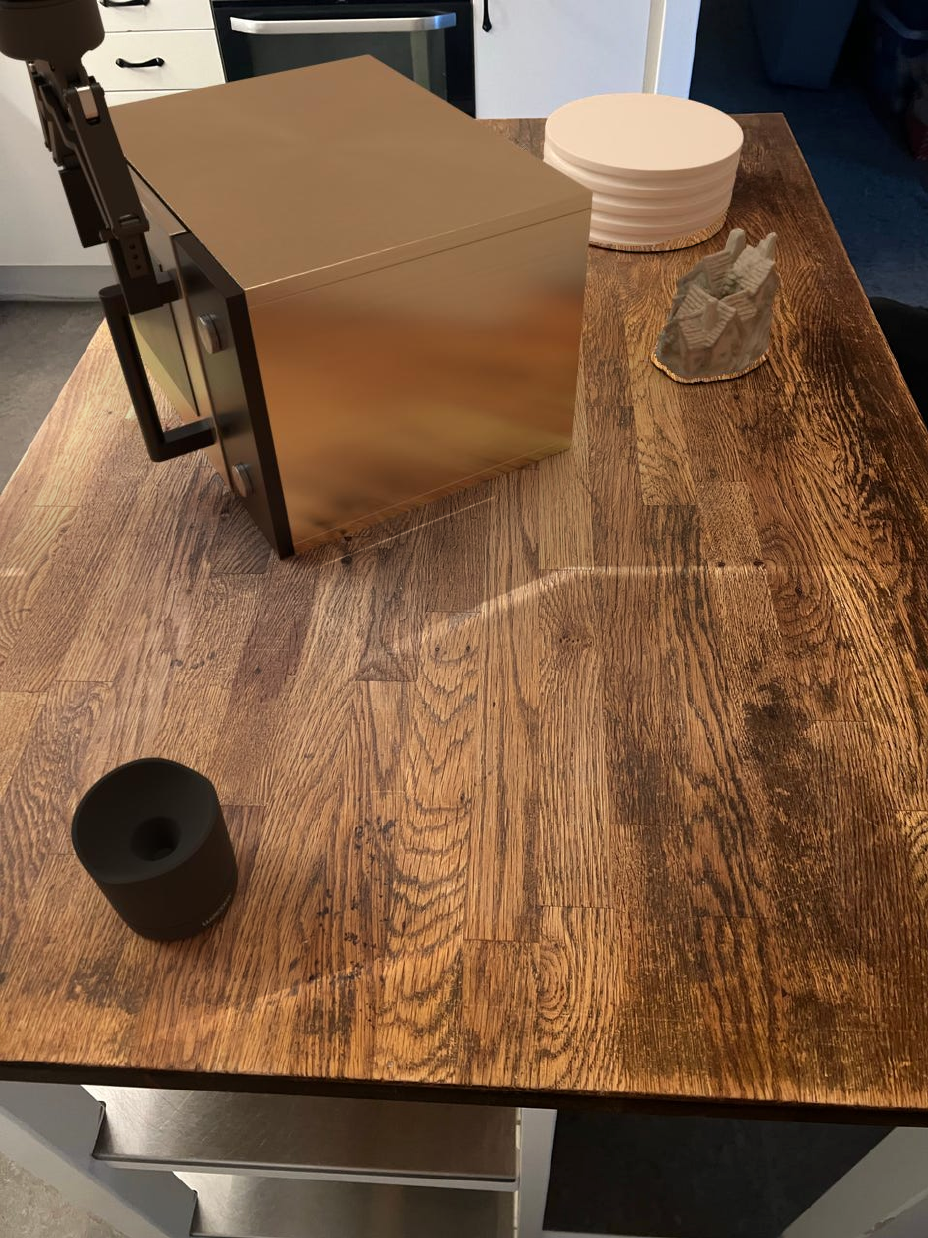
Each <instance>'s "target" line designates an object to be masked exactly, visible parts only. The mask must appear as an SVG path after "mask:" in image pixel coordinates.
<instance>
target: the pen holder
mask: <svg viewBox="0 0 928 1238" xmlns="http://www.w3.org/2000/svg"><path fill="white" fill-rule="evenodd" d="M221 806H222V805H221V802H220V800H219V796H218V793H217V790H216V787H215V786H214V784H213V782H212V781H211V779H209V778H208V777H207V776H205V775H204V774H202V773H200V772H199V771H197V770H195V769H193V768H191V767H189V766H187V765H185V764H183V763H180V762H178V761H175V760H172V759H169V758H164V757H157V756H152V757H151V756H150V757H142V758H138V759H133V760H130V761H128V762H125V763H123V764H121V765H119V766H117V767H115V768H113V769H111V770H110V771H108V772H106V774H104V775H103V776H102V777H100V778H99V779H98V780H97V781H96V782H94V783H93V784H92V786H90V788H89V789H88V790H87V791H86V792H85V794H84V795H83V796H82V798H81V799H80V801H79V803H78V805H77V807H76V808H75V812H74V814H73V816H72V821H71V828H70V836H71V843H72V848H73V850H74V852H75V854H76V857H77V858H78V860H79V862H80V863H81V865H82V866H83V868H84V870H85V871H86V873H88V875H89V876H90V878H91V879H92V881H93V882H94V884H95V885H96V886H97V887H98V889H99V890H100V892H101V893H102V894H103V896H104V897H105V899H106V900H107V901H108V902H109V903H108V904H110V905H111V907H112V908H113V910H114V911H115V912H116V914H118V917H120V919H121V920H122V921H123V923H124V924H125V925H126V926H127V927H128V928H129V929H130V930H131V931H133V932H134V933H135V934H136V935H138V936H140V937H141V938H144V939H146V940H150V941H153V942H160V943H161V942H162V943H170V942H179V941H183V940H186V939H189V938H192V937H195V936H197V935H199V934H201V933H203V932H205V931H206V930H208V929H209V928H210V927H212V926H214V924H215V923H216V922H217V921H219V920H220V919H221V917H222V916H223V915H224V914H225V913H226V912H227V910H228V908H229V907H230V905H231V903H232V902H233V899H234V897H235V895H236V892H237V888H238V884H239V883H238V881H239V870H238V864H237V859H236V855H235V852H234V847H233V844H232V841H231V837H230V834H229V830H228V827H227V823H226V820H225V817H224V813H223V809H222V807H221Z"/></svg>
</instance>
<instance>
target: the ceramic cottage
mask: <svg viewBox="0 0 928 1238" xmlns="http://www.w3.org/2000/svg"><path fill="white" fill-rule="evenodd" d="M746 236H747V234H746V232H745V230H744V229H743V228H740V227H737V228H733V229H732V230H731V231H729V234H728V237H727V240H726V244H725V248H724V249H723V250H720V251H717V252H716V253H713V254H709V255H706V256H703V257H701V259H700V260H699V261H698V262H697V263H696V265H694V266H693V268H692V269H690V270H689V271H687V272H686V273H685V274H684V275H682V276H679V277H678V278H677V279H676V282H675V283H676V287H677V289H676V293H675V294H674V295H673V296H672V298H671V301H672V303H673V304H672V308H671V309H669V311H670V316H669V318H667V319H666V321H665V322H667V323H668V322H669V323H670V324H667V325H666V326H664V327H663V330H662V331H660V330H659V332H658V334H657V337H658V341H659V342H658V344H657V345H656V347H657V348H656V349H653V348H652V350H655V352H654V353H653V354H656V356H655V358H657V361H658V362H660V363H661V365H664V366H666V367H667V370H670V371H671V373H674V374H675V375H677V376H678V377H680V378H683V379H686V380H693V379H695V378H701V379H702V378H709V377H710V378H711V377H714V376H716V377H717V376H721V375H722V376H723V374H725V375H729V374H733V373H735V372H736V373H737V372H740V371H744V370H746V369H747V368H748V367H749V366H751V365H752V364H753V362H754V361H756V360H757V359H758V358H760V357H761V356H762V355H763V354H764V353H765V352H766V350H767V349H768V348H769V346H770V347H771V345H770V330H771V327H772V324H773V320H774V313H773V309H772V307H773V304H774V300H775V299H776V298H775V297H776V292H777V290H778V289H779V287H780V286H782V285H781V281H782V280H781V277H779V275H778V272H777V268H776V264H777V262H776V261H774V259H775V256H776V243H777V240H778V237H779V235H778V234H777V233H776V232H774V231H772V232H769V233H768V234H766V236H765V238H764V239H761V240H760V241H759V243H758V244H757V246H756V247H754V246H753V245H751V244H747V245H746V238H747V237H746ZM671 321H672V322H671Z"/></svg>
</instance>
